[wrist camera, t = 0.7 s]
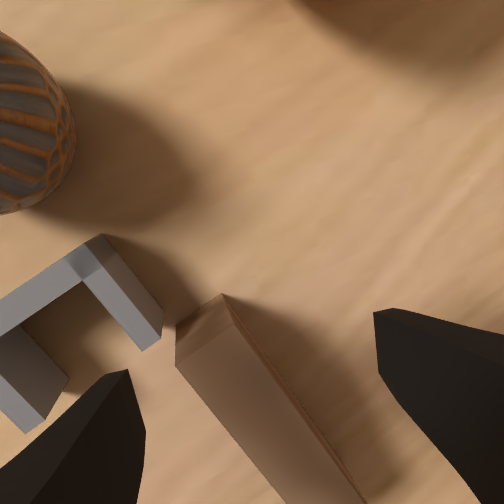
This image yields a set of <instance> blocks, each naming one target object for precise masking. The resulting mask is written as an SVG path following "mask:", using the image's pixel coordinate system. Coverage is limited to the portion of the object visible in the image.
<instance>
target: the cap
mask: <svg viewBox="0 0 504 504" xmlns="http://www.w3.org/2000/svg"><path fill="white" fill-rule="evenodd" d="M81 281H83V282H84V283H85V284H86V285H87V287H88V288H89V289H90V290H91V291H92V292H93V294H94V295H95V296H96V297H97V298H98V300H99V301H100V302H101V303H102V304H103V306H104V307H105V308H106V309H107V310H108V312H109V313H110V314H111V315H112V316H113V318H114V319H115V320H116V321H117V322H118V324H119V325H120V326H121V327H122V328H123V329H124V331H125V332H126V333H127V334H128V335H129V337H130V338H131V339H132V340H133V341H134V343H135V344H136V345H137V346H138V347H139V349H140V350H141V351H144V350H145V349H147V348H148V347H149V346H151V345H152V344H154V343H155V342H156V341H158V340H159V339H161V334H162V326H163V318H164V311H163V310H162V309H161V307H160V306H159V305H158V304H157V302H156V301H155V300H154V299H153V297H152V296H151V295H150V293H149V292H148V291H147V290H146V288H145V287H144V286H143V285H142V283H141V282H140V281H139V280H138V278H137V277H136V276H135V274H134V273H133V272H132V271H131V269H130V268H129V267H128V266H127V264H126V263H125V262H124V261H123V259H122V258H121V257H120V255H119V254H118V253H117V252H116V250H115V249H114V248H113V247H112V245H111V244H110V243H109V242H108V240H107V239H106V238H105V236H104V235H103V234H102V233H101V234H100V235H98V236H96V237H94V238H92V239H91V240H89V241H87V242H85V243H83V244H82V245H80V246H79V247H78V248H76V249H75V250H73V251H72V252H70V253H69V254H67V255H66V256H64V257H63V258H61V259H60V260H58V261H57V262H55V263H54V264H52V265H51V266H49V267H48V268H46V269H45V270H43V271H42V272H41V273H39V274H38V275H36V276H35V277H33V278H32V279H30V280H29V281H27V282H26V283H24V284H23V285H21V286H20V287H18V288H17V289H15V290H14V291H12V292H11V293H9V294H8V295H6V296H5V297H3V298H2V299H1V300H0V410H1V411H2V412H3V413H4V414H5V415H6V416H7V417H8V418H9V419H10V420H11V421H12V422H13V423H14V424H15V425H16V426H17V427H18V428H19V429H20V430H21V431H23V432H24V433H25V434H26V433H28V432H29V431H31V430H32V429H33V428H35V427H36V426H38V425H39V424H40V423H42V422H43V421H45V420H46V418H47V416H48V414H49V413H50V411H51V409H52V408H53V406H54V404H55V402H56V401H57V399H58V397H59V396H60V394H61V392H62V391H63V389H64V387H65V385H66V384H67V382H68V380H69V378H68V377H67V375H66V374H65V373H64V372H63V371H62V370H61V369H60V368H59V367H58V366H57V365H56V364H55V363H54V361H53V360H52V359H51V358H50V357H49V356H48V355H47V354H46V353H45V352H44V351H43V350H42V348H41V347H40V346H39V345H38V344H37V343H36V342H35V341H34V340H33V339H32V338H31V337H30V336H29V334H28V333H27V332H26V331H25V330H24V329H23V328H22V327H21V326H20V325H19V323H21V322H22V321H24V320H25V319H27V318H28V317H30V316H31V315H33V314H34V313H36V312H37V311H38V310H40V309H41V308H43V307H44V306H46V305H47V304H49V303H50V302H52V301H53V300H55V299H56V298H58V297H59V296H60V295H62V294H63V293H65V292H66V291H68V290H69V289H71V288H72V287H74V286H75V285H77V284H78V283H79V282H81Z"/></svg>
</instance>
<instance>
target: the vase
mask: <svg viewBox="0 0 504 504" xmlns="http://www.w3.org/2000/svg"><path fill="white" fill-rule="evenodd" d="M75 148H76V129H75V122H74V118H73V114H72V111H71V108H70V105H69V103H68V100H67V98H66V96H65V94H64V92H63V91H62V89H61V87H60V86H59V84H58V83H57V82H56V80H55V79H54V77H53V76H52V75H51V74H50V72H49V71H48V70H47V69H46V68H45V67H44V66H43V65H42V63H41V62H40V61H39V60H38V59H37V58H36V57H35V56H33V55H32V54H31V53H30V52H29V51H28V50H27V49H25V48H24V47H23V46H22V45H20V44H19V43H18V42H16V41H15V40H14V39H12V38H11V37H9V36H7V35H6V34H4V33H2V32H1V31H0V215H5V214H9V213H13V212H16V211H19V210H22V209H25V208H28V207H30V206H32V205H34V204H36V203H38V202H39V201H41V200H43V199H44V198H45V197H47V196H48V195H49V194H50V193H52V192H53V191H54V190H55V189H56V188H57V187H58V186H59V184H60V183H61V182H62V181H63V179H64V178H65V176H66V175H67V173H68V171H69V169H70V167H71V164H72V161H73V158H74V154H75Z"/></svg>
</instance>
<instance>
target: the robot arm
mask: <svg viewBox="0 0 504 504" xmlns="http://www.w3.org/2000/svg"><path fill="white" fill-rule="evenodd" d="M373 317H374V327H375V338H376V349H377V360H378V371H379V374H380V376H381V377H382V379H383V380H384V382H385V384H386V385H387V387H388V388H389V390H390V391H391V393H392V394H393V396H394V397H395V399H396V400H397V402H398V403H399V404H400V405H401V406H402V408H403V409H404V410H405V411H406V412H407V414H408V415H409V416H410V417H411V418H412V419H413V421H414V422H415V423H416V424H417V425H418V426H419V428H420V429H421V430H422V431H423V432H424V433H425V435H426V436H427V437H428V438H429V439H430V440H431V441H432V443H433V444H434V445H435V446H436V447H437V448H438V450H439V451H440V452H441V453H442V454H443V455H444V457H445V458H446V459H447V460H448V461H449V462H450V463H451V465H452V466H453V467H454V468H455V469H456V471H457V472H458V473H459V474H460V476H461V477H462V478H463V479H464V481H465V482H466V483H467V485H468V486H469V487H470V489H471V490H472V492H473V493H474V494H475V496H476V497H477V499H478V500H479V501H480V503H481V504H504V335H502V334H498V333H493V332H489V331H484V330H480V329H476V328H472V327H468V326H464V325H460V324H456V323H452V322H448V321H445V320H441V319H437V318H434V317H430V316H426V315H423V314H419V313H415V312H411V311H407V310H402V309H396V308H390V309H386V310H382V311H377V312H373ZM145 439H146V429H145V426H144V423H143V419H142V416H141V412H140V409H139V405H138V402H137V399H136V395H135V392H134V388H133V385H132V381H131V378H130V374H129V371H128V369H126V370H122V371H118V372H113V373H109V374H105V375H104V376H103V377H101V378H100V379H99V380H98V381H97V382H96V383H95V384H94V385H93V386H91V387H90V388H89V389H88V390H87V391H86V392H85V393H84V394H83V395H82V396H81V397H80V398H79V399H78V400H77V401H76V402H75V403H74V404H73V405H72V406H71V407H70V408H69V409H67V410H66V411H65V412H64V413H63V414H62V415H61V416H60V417H59V418H58V419H57V420H56V421H55V422H54V423H53V424H52V425H50V426H49V427H48V428H47V429H46V430H45V431H44V432H43V433H42V434H40V435H39V436H38V437H37V438H36V439H35V440H34V441H33V442H31V443H30V444H29V445H28V446H27V447H26V448H25V449H24V450H22V451H21V452H20V453H19V454H18V455H17V456H15V457H14V458H13V459H12V460H11V461H9V462H8V463H7V464H6V465H4V466H3V467H2V468H1V469H0V504H136V503H137V498H138V493H139V488H140V483H141V478H142V472H143V467H144V455H145Z"/></svg>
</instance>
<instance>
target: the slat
mask: <svg viewBox="0 0 504 504" xmlns="http://www.w3.org/2000/svg"><path fill="white" fill-rule="evenodd" d="M175 367H176V368H177V369H178V370H179V371H180V373H181V374H182V375H183V376H184V378H185V379H186V380H187V381H188V383H189V384H190V385H191V386H192V388H193V389H194V390H195V391H196V393H197V394H198V395H199V396H200V397H201V399H202V400H203V401H204V402H205V404H206V405H207V406H208V407H209V409H210V410H211V411H212V412H213V414H214V415H215V416H216V417H217V419H218V420H219V421H220V422H221V424H222V425H223V426H224V427H225V428H226V430H227V431H228V432H229V433H230V435H231V436H232V437H233V438H234V440H235V441H236V442H237V443H238V445H239V446H240V447H241V448H242V450H243V451H244V452H245V453H246V454H247V456H248V457H249V458H250V459H251V461H252V462H253V463H254V464H255V466H256V467H257V468H258V469H259V471H260V472H261V473H262V474H263V476H264V477H265V478H266V479H267V481H268V482H269V483H270V484H271V485H272V487H273V488H274V489H275V490H276V492H277V493H278V494H279V495H280V497H281V498H282V499H283V500H284V502H285V503H286V504H367V502H366V500H365V499H364V497H363V495H362V494H361V492H360V490H359V489H358V487H357V485H356V484H355V482H354V480H353V479H352V477H351V475H350V474H349V472H348V470H347V469H346V467H345V465H344V464H343V462H342V461H341V459H340V458H339V457H338V455H337V454H336V452H335V451H334V450H333V448H332V447H331V445H330V444H329V443H328V441H327V440H326V439H325V437H324V436H323V434H322V433H321V432H320V430H319V429H318V427H317V426H316V425H315V423H314V422H313V420H312V419H311V418H310V416H309V415H308V413H307V412H306V411H305V409H304V408H303V406H302V405H301V404H300V402H299V401H298V399H297V398H296V397H295V395H294V394H293V393H292V391H291V390H290V388H289V387H288V386H287V384H286V383H285V381H284V380H283V379H282V377H281V376H280V374H279V373H278V372H277V370H276V369H275V367H274V366H273V365H272V363H271V362H270V360H269V359H268V358H267V356H266V355H265V353H264V352H263V351H262V349H261V348H260V347H259V345H258V344H257V342H256V341H255V340H254V338H253V337H252V335H251V334H250V333H249V331H248V330H247V328H246V327H245V326H244V324H243V323H242V321H241V320H240V319H239V317H238V316H237V314H236V313H235V312H234V310H233V309H232V308H231V306H230V305H229V303H228V302H227V301H226V299H225V298H224V296H223V295H222V294H220V295H218V296H217V297H215V298H214V299H213V300H211V301H210V302H208V303H207V304H205V305H204V306H202V307H201V308H200V309H198V310H197V311H195V312H194V313H192V314H191V315H190V316H188V317H187V318H185V319H184V320H182V321H181V322H180V323H178V324H177V325H176V344H175Z"/></svg>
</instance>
